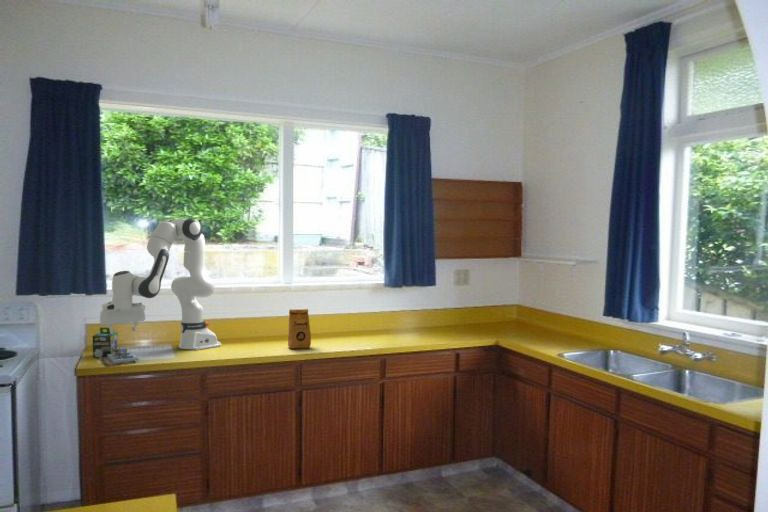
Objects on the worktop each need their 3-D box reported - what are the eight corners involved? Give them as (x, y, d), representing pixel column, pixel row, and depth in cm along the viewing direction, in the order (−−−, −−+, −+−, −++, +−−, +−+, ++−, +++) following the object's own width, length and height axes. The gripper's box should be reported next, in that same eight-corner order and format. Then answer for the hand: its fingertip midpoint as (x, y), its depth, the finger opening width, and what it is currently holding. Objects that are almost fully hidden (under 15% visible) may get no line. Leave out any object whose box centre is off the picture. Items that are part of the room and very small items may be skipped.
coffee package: (311, 349, 303) (312, 310, 302) (288, 350, 300) (289, 310, 298) (309, 345, 312) (309, 307, 311) (287, 346, 309) (287, 307, 308)
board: (127, 356, 278) (127, 346, 277) (135, 363, 265) (135, 352, 265) (101, 359, 270) (101, 348, 270) (107, 366, 258) (107, 355, 257)
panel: (131, 354, 278) (131, 344, 278) (138, 360, 266) (138, 349, 266) (107, 356, 271) (107, 346, 271) (113, 363, 259) (113, 352, 259)
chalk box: (118, 353, 284) (118, 325, 283) (111, 357, 275) (110, 328, 274) (100, 353, 283) (100, 325, 282) (92, 357, 274) (91, 328, 273)
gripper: (143, 301, 276) (144, 328, 277) (98, 305, 264) (99, 333, 265) (146, 303, 271) (147, 330, 272) (101, 307, 259) (101, 335, 260)
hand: (123, 332), depth 268 cm, fingers open, 8 cm apart
